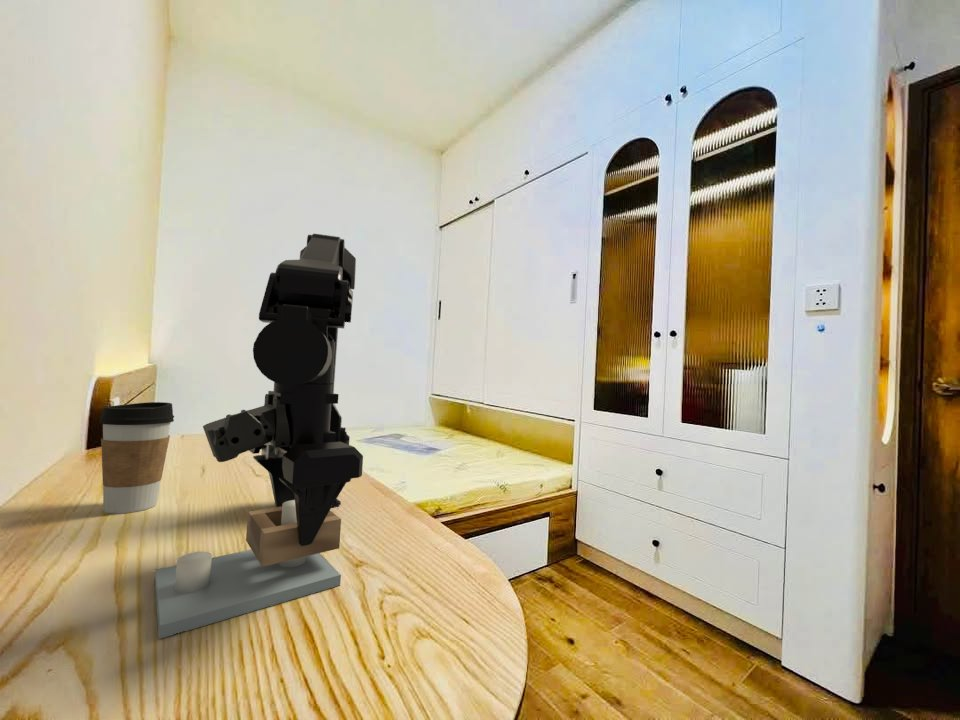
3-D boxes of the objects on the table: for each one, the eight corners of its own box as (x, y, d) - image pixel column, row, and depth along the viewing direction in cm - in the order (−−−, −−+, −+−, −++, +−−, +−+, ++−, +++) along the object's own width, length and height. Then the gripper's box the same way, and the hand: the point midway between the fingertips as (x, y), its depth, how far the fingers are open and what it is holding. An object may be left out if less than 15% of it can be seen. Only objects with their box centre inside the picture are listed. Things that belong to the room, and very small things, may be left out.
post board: (304, 546, 48) (308, 487, 48) (340, 585, 40) (344, 512, 40) (154, 580, 39) (160, 506, 39) (159, 639, 31) (166, 545, 31)
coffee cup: (180, 503, 61) (188, 404, 62) (115, 520, 53) (125, 406, 54) (143, 495, 64) (151, 400, 65) (76, 511, 56) (86, 403, 57)
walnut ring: (315, 526, 47) (317, 500, 47) (339, 548, 42) (341, 518, 42) (245, 540, 43) (248, 511, 43) (261, 566, 37) (264, 533, 37)
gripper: (202, 377, 45) (190, 520, 44) (232, 384, 31) (216, 595, 30) (306, 381, 52) (298, 503, 51) (369, 387, 38) (359, 557, 37)
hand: (294, 532), depth 42 cm, fingers closed on walnut ring, 7 cm apart
